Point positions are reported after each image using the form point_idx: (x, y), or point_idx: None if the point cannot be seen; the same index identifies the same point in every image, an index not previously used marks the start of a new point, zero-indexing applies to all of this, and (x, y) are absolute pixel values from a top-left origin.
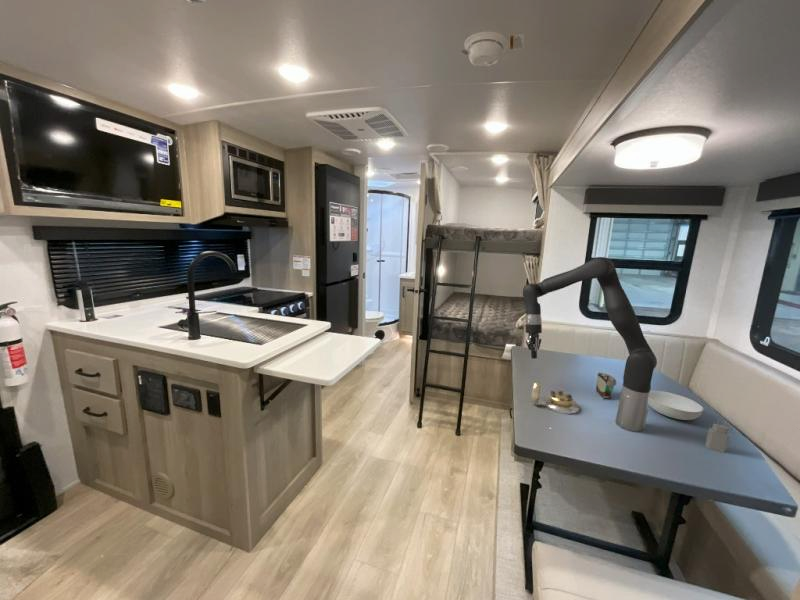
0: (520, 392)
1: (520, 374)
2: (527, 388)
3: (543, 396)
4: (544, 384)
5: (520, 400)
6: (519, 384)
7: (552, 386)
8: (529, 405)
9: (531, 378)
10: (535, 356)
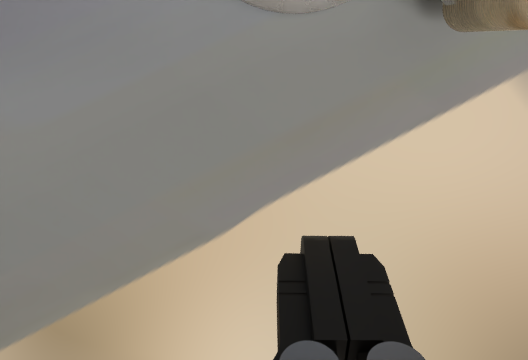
0: (330, 161)
1: (44, 308)
2: (227, 164)
3: (308, 5)
4: (33, 122)
5: (445, 102)
6: (215, 227)
7: (2, 63)
8: None
9: (29, 232)
10: (359, 258)
